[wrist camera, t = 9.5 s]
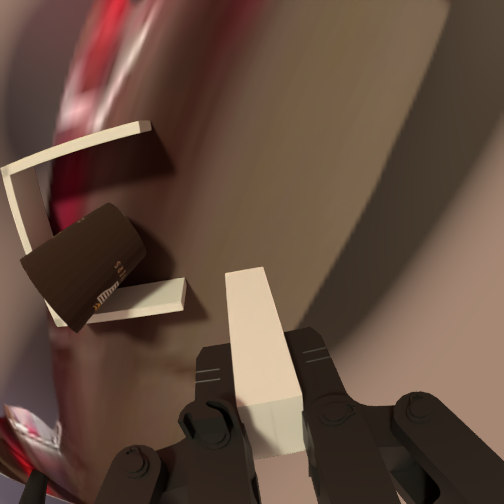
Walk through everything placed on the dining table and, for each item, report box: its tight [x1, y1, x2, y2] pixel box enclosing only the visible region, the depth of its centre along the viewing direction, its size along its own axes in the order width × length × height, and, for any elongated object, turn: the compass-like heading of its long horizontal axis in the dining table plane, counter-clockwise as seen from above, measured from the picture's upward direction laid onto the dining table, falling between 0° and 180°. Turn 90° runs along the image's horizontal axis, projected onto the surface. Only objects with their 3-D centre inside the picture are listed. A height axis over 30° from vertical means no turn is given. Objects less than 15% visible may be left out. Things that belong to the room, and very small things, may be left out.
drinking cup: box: [19, 470, 48, 504], centre depth 44 cm, size 8×8×20 cm
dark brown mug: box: [20, 203, 146, 333], centre depth 28 cm, size 12×9×10 cm
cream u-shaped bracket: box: [1, 120, 187, 327], centre depth 29 cm, size 15×18×5 cm
